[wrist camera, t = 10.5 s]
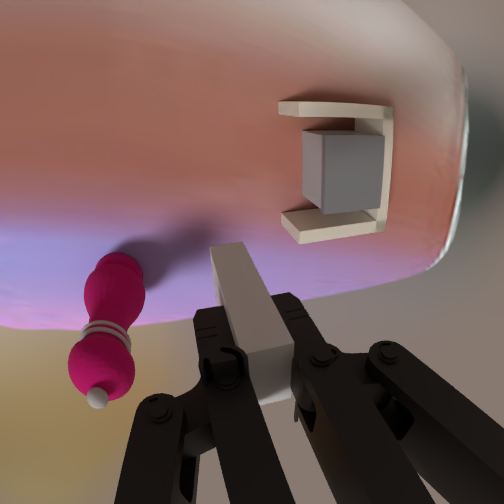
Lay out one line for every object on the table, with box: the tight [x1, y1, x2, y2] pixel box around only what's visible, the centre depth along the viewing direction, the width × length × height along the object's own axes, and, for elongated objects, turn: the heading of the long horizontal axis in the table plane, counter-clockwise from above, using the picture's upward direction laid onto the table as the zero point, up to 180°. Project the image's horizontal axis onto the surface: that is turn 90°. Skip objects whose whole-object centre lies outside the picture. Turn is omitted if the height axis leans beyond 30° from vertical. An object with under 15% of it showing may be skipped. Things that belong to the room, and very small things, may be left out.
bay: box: [278, 101, 394, 244], centre depth 34 cm, size 15×12×6 cm
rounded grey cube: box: [302, 130, 385, 215], centre depth 34 cm, size 8×7×7 cm
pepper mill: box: [68, 253, 145, 409], centre depth 28 cm, size 7×7×20 cm
